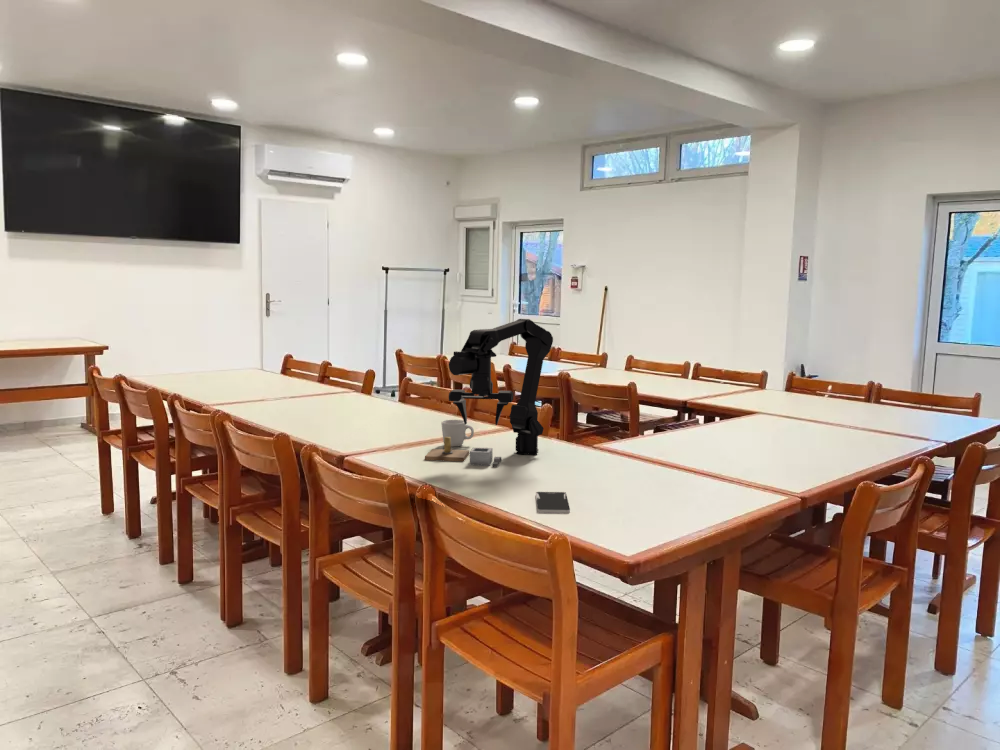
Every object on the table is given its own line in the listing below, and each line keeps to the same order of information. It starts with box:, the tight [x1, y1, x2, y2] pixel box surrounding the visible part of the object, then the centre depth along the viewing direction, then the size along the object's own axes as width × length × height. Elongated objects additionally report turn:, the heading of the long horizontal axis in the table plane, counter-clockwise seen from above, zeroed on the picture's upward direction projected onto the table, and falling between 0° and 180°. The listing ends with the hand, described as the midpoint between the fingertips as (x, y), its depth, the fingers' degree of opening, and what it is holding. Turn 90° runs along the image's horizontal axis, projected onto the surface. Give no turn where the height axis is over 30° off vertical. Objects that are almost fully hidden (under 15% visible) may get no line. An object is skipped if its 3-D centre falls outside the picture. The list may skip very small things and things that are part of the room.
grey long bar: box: [491, 456, 502, 468], centre depth 219 cm, size 2×9×2 cm, turn 173°
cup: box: [441, 419, 475, 448], centre depth 243 cm, size 11×8×8 cm
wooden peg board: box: [424, 437, 470, 462], centre depth 227 cm, size 12×10×6 cm
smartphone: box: [535, 490, 571, 514], centre depth 179 cm, size 8×1×15 cm
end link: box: [469, 447, 494, 467], centre depth 219 cm, size 6×6×4 cm
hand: (481, 424), depth 218 cm, fingers open, 9 cm apart
